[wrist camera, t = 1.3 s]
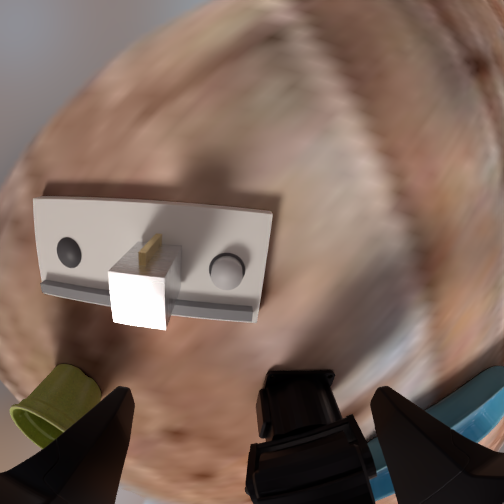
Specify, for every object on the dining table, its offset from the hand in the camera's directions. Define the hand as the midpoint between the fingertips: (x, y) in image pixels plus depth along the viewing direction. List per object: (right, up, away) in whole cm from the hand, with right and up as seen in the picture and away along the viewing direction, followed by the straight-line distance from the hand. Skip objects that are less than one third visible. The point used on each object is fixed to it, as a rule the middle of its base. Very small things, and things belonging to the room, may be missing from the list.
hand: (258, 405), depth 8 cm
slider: (-6, +5, +9) cm, 12 cm away
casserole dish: (+30, -24, +24) cm, 45 cm away
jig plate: (-8, +5, +10) cm, 14 cm away
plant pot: (-19, -9, +15) cm, 26 cm away
